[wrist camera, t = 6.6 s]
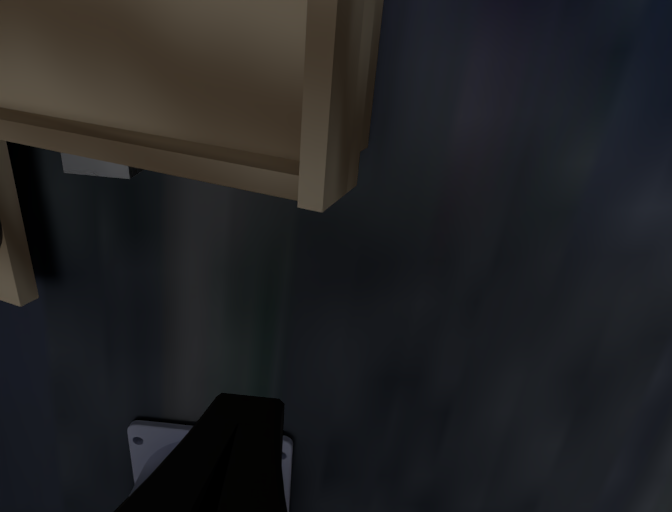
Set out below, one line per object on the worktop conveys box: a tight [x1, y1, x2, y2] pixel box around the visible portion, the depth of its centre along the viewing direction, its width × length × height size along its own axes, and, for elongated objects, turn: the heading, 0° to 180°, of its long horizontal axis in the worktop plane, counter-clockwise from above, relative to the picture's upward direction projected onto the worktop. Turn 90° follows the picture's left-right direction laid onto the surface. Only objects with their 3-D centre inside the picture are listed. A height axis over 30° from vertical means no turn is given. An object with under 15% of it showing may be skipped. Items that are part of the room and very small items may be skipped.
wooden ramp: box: [0, 0, 384, 307], centre depth 16 cm, size 13×16×5 cm
